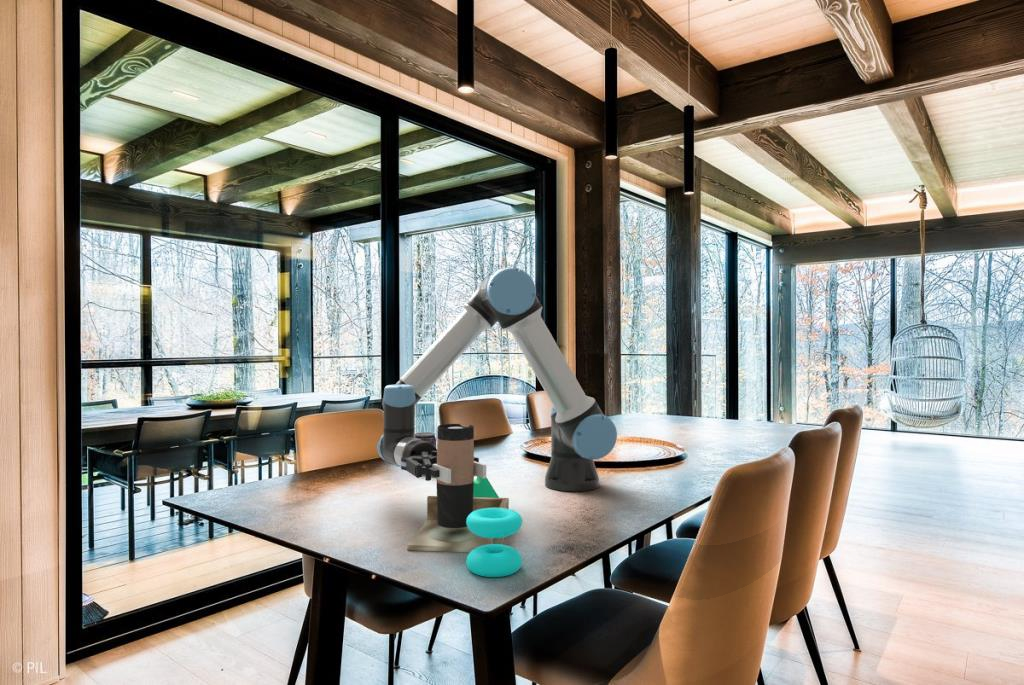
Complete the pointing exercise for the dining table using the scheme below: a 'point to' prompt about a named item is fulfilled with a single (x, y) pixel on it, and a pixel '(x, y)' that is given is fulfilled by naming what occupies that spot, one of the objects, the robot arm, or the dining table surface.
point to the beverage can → (426, 437)
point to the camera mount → (483, 488)
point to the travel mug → (455, 474)
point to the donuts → (494, 556)
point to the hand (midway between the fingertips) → (467, 474)
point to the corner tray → (453, 530)
